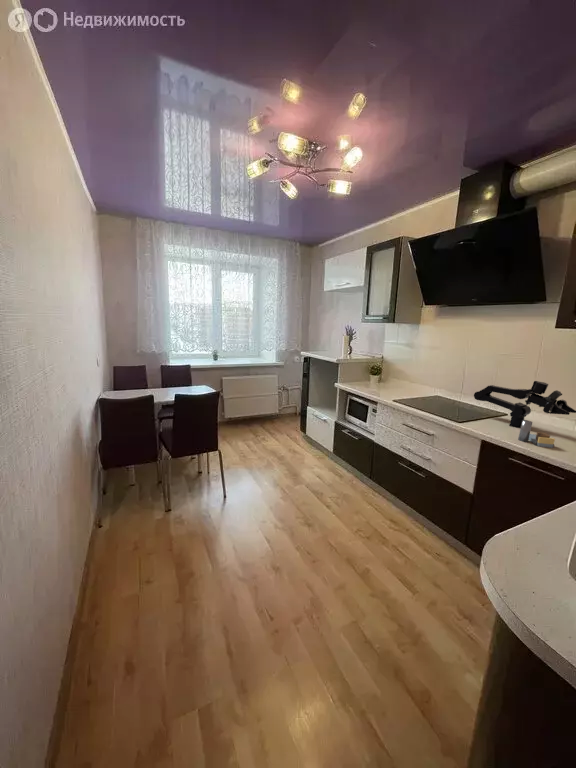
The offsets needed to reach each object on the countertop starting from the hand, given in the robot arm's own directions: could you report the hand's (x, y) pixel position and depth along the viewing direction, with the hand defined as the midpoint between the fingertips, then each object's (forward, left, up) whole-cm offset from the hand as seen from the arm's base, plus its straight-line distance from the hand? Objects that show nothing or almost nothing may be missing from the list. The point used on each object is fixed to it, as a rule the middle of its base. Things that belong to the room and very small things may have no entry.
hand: (572, 413), depth 171 cm
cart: (-11, -16, -16) cm, 25 cm away
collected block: (-10, -19, -14) cm, 25 cm away
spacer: (-17, -20, -16) cm, 31 cm away
